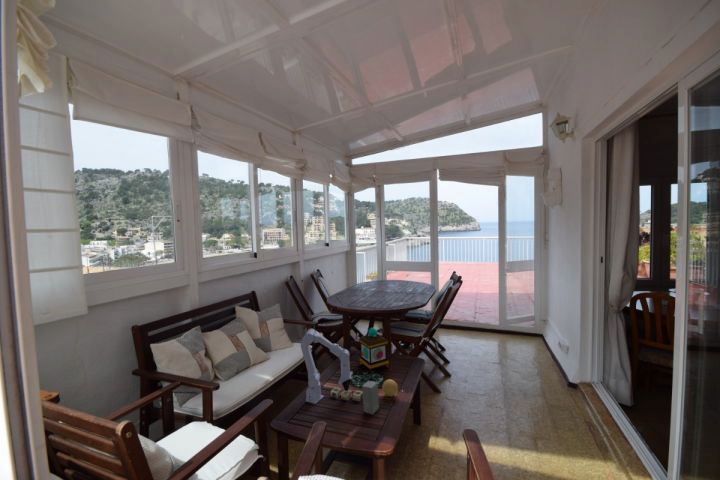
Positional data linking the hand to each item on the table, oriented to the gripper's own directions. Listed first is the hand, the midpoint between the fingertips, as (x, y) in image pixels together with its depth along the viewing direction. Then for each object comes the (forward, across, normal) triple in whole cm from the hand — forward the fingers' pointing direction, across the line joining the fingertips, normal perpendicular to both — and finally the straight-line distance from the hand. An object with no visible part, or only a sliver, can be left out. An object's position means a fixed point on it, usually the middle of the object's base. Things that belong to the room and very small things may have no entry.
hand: (346, 390), depth 201 cm
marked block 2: (+5, +2, -7) cm, 9 cm away
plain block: (+5, 0, 0) cm, 5 cm away
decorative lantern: (+5, +46, +3) cm, 46 cm away
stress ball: (+5, +14, -24) cm, 28 cm away
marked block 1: (+5, -1, +8) cm, 9 cm away
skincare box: (+5, -5, -20) cm, 21 cm away
